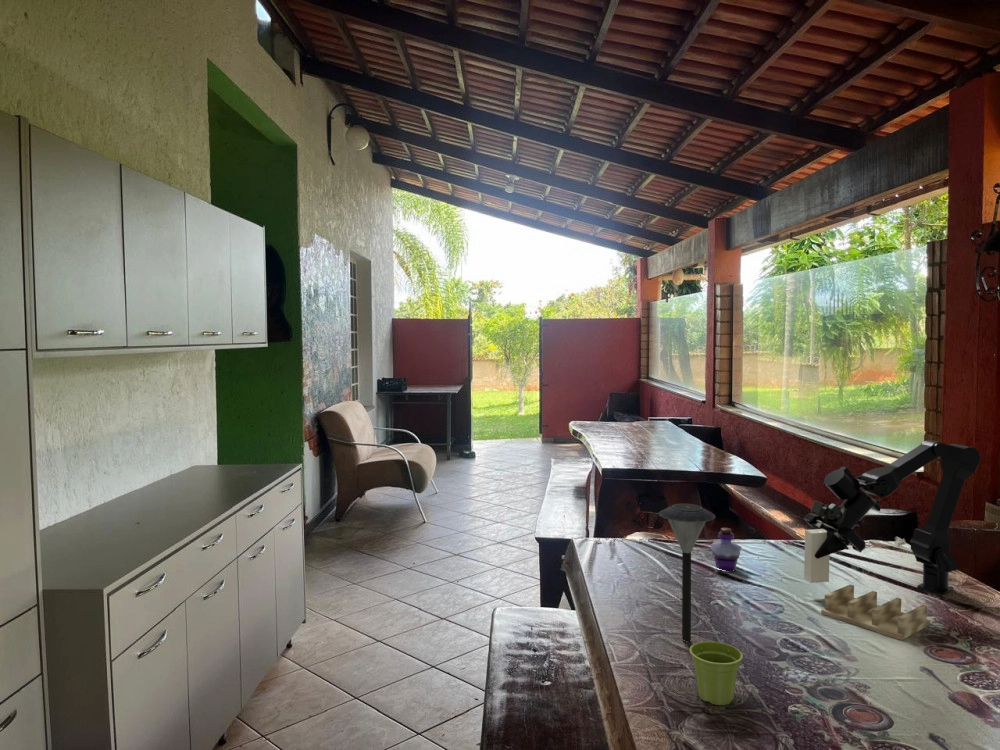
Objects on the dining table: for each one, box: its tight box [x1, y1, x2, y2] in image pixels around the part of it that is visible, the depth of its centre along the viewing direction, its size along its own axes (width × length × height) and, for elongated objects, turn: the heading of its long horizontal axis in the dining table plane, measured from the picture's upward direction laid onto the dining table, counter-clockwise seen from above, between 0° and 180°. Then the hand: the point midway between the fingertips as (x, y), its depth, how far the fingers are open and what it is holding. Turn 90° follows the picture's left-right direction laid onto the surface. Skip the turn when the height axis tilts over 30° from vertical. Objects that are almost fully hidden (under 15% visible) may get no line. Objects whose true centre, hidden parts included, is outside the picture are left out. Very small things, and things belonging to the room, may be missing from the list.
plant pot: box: [689, 640, 744, 706], centre depth 125 cm, size 9×9×9 cm
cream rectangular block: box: [803, 528, 830, 584], centre depth 174 cm, size 5×3×13 cm, turn 96°
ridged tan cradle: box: [820, 583, 931, 641], centre depth 160 cm, size 14×18×4 cm
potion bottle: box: [710, 527, 742, 571], centre depth 196 cm, size 9×9×12 cm
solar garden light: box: [658, 503, 717, 642], centre depth 149 cm, size 12×12×30 cm
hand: (811, 555), depth 174 cm, fingers closed on cream rectangular block, 3 cm apart
